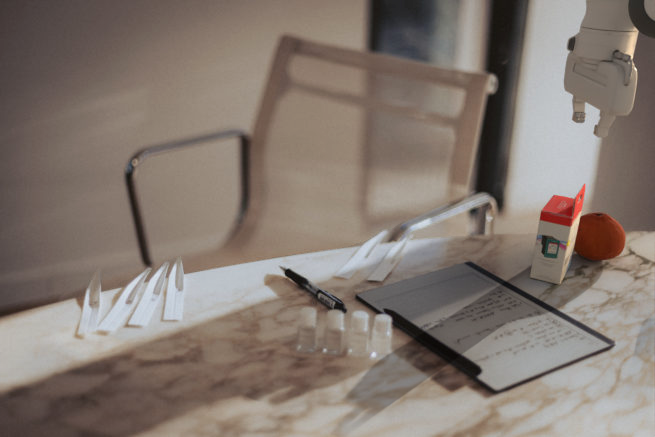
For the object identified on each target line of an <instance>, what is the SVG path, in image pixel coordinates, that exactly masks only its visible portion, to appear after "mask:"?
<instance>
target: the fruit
mask: <svg viewBox="0 0 655 437" xmlns="http://www.w3.org/2000/svg"><path fill="white" fill-rule="evenodd" d="M626 237H627V235H626V233H625V230H624V228H623V226H622V225H621V224H620V223H619V222H618V221H617V220H616V219H615V218H613V217H612V216H611V215H610V214H607V213H606V212H598V211H597V212H596V211H595V212H588V213H584V214H582V215H581V216H580V220H579V225H578V230H577V235H576V240H575V245H574V250H573V252H575V253H576V254H578V255H579V256H580V257H583V258H585V259H587V260H591V261H607V260H612V259H614V258H615V259H616V257H618V256H620V255H621V254H622V253H623V251H624V249H625V247H626V240H627V239H626Z"/></svg>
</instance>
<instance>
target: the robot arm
mask: <svg viewBox="0 0 655 437" xmlns="http://www.w3.org/2000/svg"><path fill="white" fill-rule="evenodd" d="M585 5H586V7H585V14H584V16H583V18H582V21H580V22H581V23H580V26H579V32H577V33H576V34H574V35H572V36H570V37H569V38H568V39H567V43H566V50H567V51H568V53H567V57H566V62H565V66H564V76H563V88H564V91H565V92H566V93H568V94H570V95H571V96H572V99H571V103H572V115H571V116H572V118H571V120H572V122H574V123H576V124H584V123H585V121H586V118H587V113H586V103H587V104H588V105H590V106H592V107H594V108H596V109H597V110H599V114H598V117H599V120H598V123H597V124H594V128H593V135H594V136H595V137H597V138H601V139H604V138H607V137H608V135H609V130H610V128H611V126H612V124H613V123H614V121H615V120H616V118H617V116H618V117H619V116H625V117H626V116H629V114H630V113H631V112H632V110H633V108H634V105H635V104H634V102H635V98H636V92H637V85H638V69H637V68H636V67H635V66H636V65H635V63H634V61H633V59H634V54H635V50H636V45H637V40H638V37H639V33H641V34H642V35H644V36H645V37H648V38H651V39H655V0H585Z"/></svg>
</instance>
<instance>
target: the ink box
mask: <svg viewBox="0 0 655 437" xmlns="http://www.w3.org/2000/svg"><path fill="white" fill-rule="evenodd" d="M586 187H587V186H586V183H583V184H582V186H581V188H580V189H579V191H578V192H577V193H576V195H575V197H574V198H573V197H568V196H564V195H558V194H553V195H552V196H551V198H550V199H549V200H548V201H547V203H546V204H545V205H544V207H543V208H542V209H541V210H540V214H539V219H538V220H539V221H538V228H537V234H536V239H535V244H534V251H533V257H532V261H531V262H532V263H531V267H530V274H529V278H531V279H534V280H539V281H542V282H547V283H551V284H553V285H561V284H562V282H563V280H564V277H565V276H566V273H567V272H568V270H569V269H570V266H571V264H572V259H573V254H574V245H575V240H576V235H577V230H578V225H579V220H580V216H582V211H583V205H584V200H585V195H586V194H585V193H586Z"/></svg>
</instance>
